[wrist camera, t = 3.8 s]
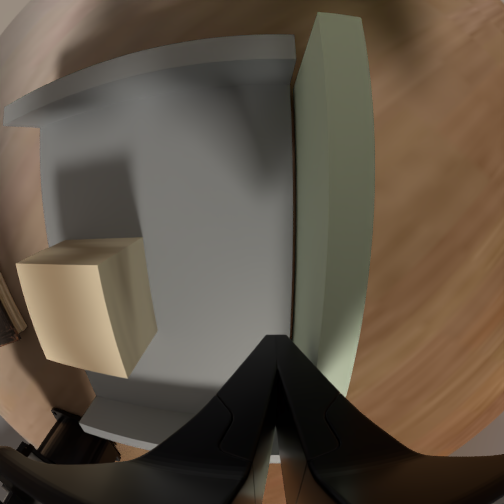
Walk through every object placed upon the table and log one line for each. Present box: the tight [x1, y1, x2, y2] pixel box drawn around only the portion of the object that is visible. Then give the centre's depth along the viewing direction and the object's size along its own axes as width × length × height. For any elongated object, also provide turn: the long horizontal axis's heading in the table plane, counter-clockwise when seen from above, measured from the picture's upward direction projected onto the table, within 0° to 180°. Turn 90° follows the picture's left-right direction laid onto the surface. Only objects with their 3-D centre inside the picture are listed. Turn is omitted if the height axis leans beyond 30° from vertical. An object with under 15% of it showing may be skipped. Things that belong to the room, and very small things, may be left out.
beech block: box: [16, 237, 158, 379], centre depth 11 cm, size 5×5×4 cm
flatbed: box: [3, 34, 296, 463], centre depth 12 cm, size 13×20×4 cm, turn 2°
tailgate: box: [292, 12, 375, 398], centre depth 10 cm, size 1×18×7 cm, turn 2°
